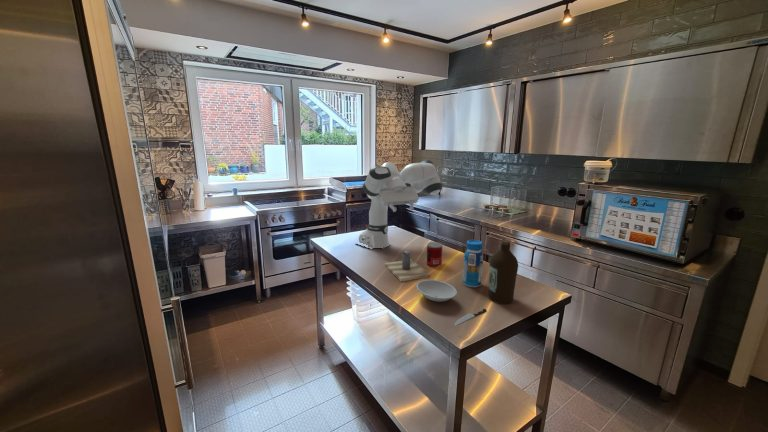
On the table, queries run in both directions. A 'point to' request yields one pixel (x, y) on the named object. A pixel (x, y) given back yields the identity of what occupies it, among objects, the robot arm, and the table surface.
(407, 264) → the dark grey cylinder
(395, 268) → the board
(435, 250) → the canned food
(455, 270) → the table surface
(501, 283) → the olive oil
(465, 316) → the chef's knife
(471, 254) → the beverage bottle
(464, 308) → the table surface
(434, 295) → the dish
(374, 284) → the table surface
